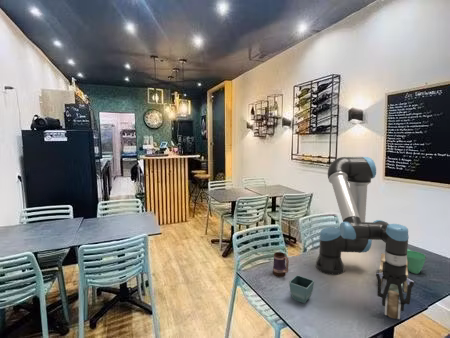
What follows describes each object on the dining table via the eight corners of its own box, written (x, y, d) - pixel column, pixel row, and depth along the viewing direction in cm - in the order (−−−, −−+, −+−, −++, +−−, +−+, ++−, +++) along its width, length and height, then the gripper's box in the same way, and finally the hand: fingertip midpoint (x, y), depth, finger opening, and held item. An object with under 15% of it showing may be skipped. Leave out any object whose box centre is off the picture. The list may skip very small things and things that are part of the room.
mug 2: (428, 276, 143) (429, 259, 142) (408, 275, 145) (409, 257, 144) (414, 264, 158) (415, 247, 156) (396, 262, 160) (397, 246, 158)
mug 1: (270, 272, 150) (270, 252, 148) (280, 269, 153) (280, 249, 151) (281, 281, 141) (282, 259, 139) (292, 278, 144) (292, 256, 142)
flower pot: (296, 291, 131) (296, 274, 130) (314, 298, 125) (314, 280, 124) (288, 300, 124) (288, 282, 123) (306, 307, 119) (307, 288, 118)
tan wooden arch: (378, 285, 135) (379, 267, 134) (380, 269, 151) (381, 253, 150) (406, 292, 129) (408, 273, 128) (405, 275, 145) (406, 257, 144)
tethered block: (383, 315, 113) (384, 293, 111) (387, 288, 133) (388, 269, 132) (400, 320, 109) (401, 298, 108) (402, 291, 130) (403, 272, 128)
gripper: (371, 261, 111) (368, 313, 113) (421, 271, 101) (417, 327, 104) (372, 254, 117) (369, 303, 119) (420, 263, 108) (416, 317, 110)
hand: (392, 315), depth 112 cm, fingers closed on tethered block, 4 cm apart
